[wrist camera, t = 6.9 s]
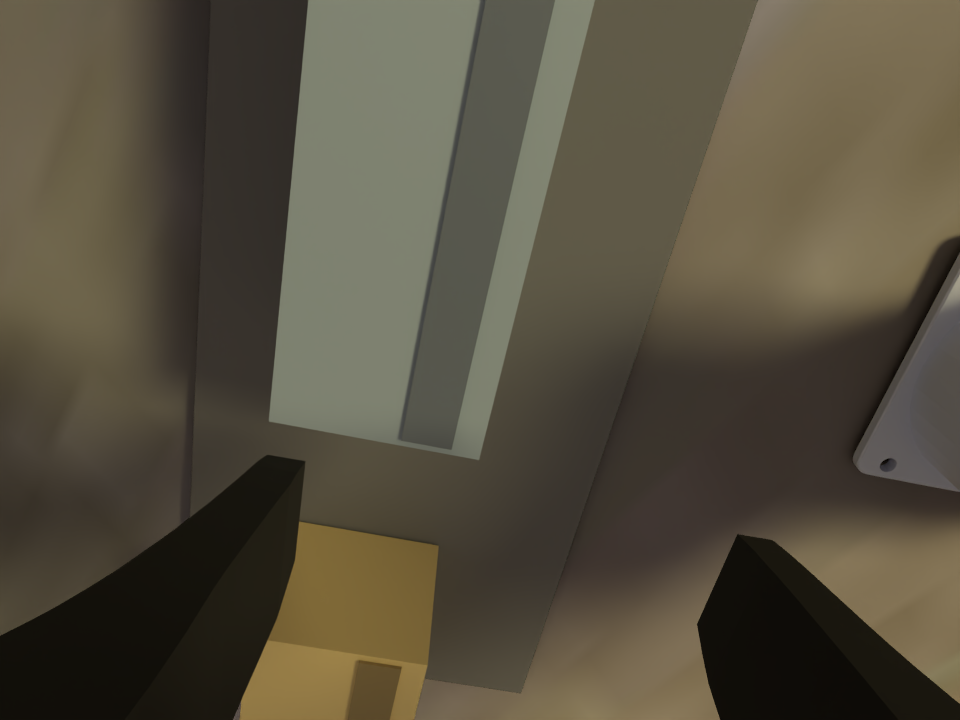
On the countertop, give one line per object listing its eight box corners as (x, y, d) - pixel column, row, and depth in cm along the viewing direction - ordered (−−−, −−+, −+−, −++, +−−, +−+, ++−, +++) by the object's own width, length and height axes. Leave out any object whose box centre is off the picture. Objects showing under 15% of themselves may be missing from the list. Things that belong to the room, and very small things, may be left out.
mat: (773, -63, 16) (780, -65, 16) (520, 684, 27) (520, 693, 27) (225, -204, 15) (219, -209, 15) (189, 632, 26) (184, 641, 26)
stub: (438, 545, 24) (427, 668, 19) (409, 667, 26) (393, 801, 22) (293, 520, 23) (246, 640, 19) (278, 646, 26) (233, 778, 21)
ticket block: (588, -88, 16) (630, -139, 11) (480, 368, 21) (478, 462, 16) (374, -142, 15) (327, -219, 11) (316, 336, 20) (267, 424, 16)
